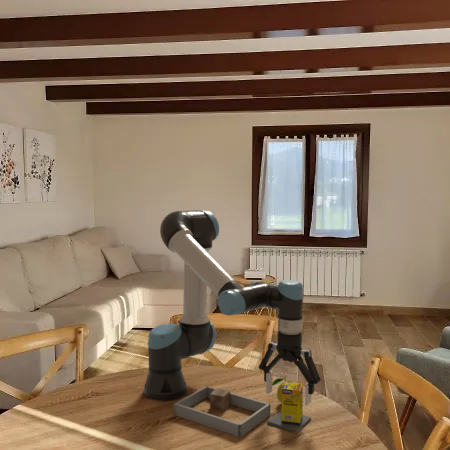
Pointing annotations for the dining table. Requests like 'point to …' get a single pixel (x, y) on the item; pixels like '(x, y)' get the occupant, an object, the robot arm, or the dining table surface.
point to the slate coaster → (291, 427)
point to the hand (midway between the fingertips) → (288, 397)
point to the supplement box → (292, 403)
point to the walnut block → (220, 399)
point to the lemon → (279, 388)
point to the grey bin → (216, 422)
